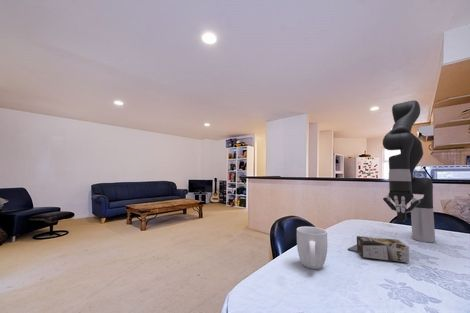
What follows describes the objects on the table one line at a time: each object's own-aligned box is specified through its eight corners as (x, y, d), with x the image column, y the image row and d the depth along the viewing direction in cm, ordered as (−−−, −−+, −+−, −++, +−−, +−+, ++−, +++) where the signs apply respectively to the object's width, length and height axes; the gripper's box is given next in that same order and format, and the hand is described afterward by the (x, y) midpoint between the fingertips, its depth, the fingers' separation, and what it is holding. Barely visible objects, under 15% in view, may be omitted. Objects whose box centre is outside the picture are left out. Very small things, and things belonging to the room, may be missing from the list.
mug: (331, 279, 69) (330, 238, 71) (296, 274, 73) (295, 235, 74) (326, 261, 84) (325, 227, 85) (297, 258, 87) (296, 225, 88)
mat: (362, 242, 108) (362, 241, 108) (401, 251, 96) (401, 250, 96) (347, 250, 97) (347, 248, 97) (389, 261, 85) (389, 259, 85)
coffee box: (409, 245, 83) (362, 241, 87) (409, 263, 82) (362, 258, 86) (398, 238, 91) (356, 235, 96) (398, 254, 91) (356, 250, 95)
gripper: (422, 180, 88) (424, 222, 87) (384, 179, 98) (386, 217, 97) (417, 180, 83) (420, 225, 82) (378, 179, 94) (380, 219, 92)
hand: (401, 221), depth 90 cm, fingers closed
